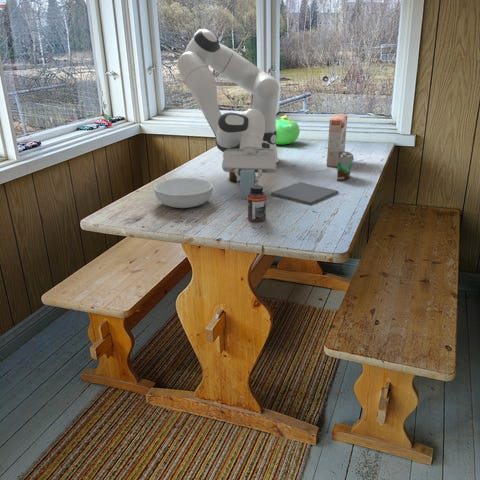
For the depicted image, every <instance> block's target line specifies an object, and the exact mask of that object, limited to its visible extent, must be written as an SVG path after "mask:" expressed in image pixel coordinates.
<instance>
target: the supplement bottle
mask: <svg viewBox="0 0 480 480" xmlns="http://www.w3.org/2000/svg"><path fill="white" fill-rule="evenodd" d="M250 190H251V191H250V192H249V193H248V199H247V219H248V221H250V222H252V223H261V222H263V221H265V220H266V219H267V218H266V217H267V195H266V193H265V191H264V186H263V185H262V184H256V185H252V186H251V189H250Z"/></svg>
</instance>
